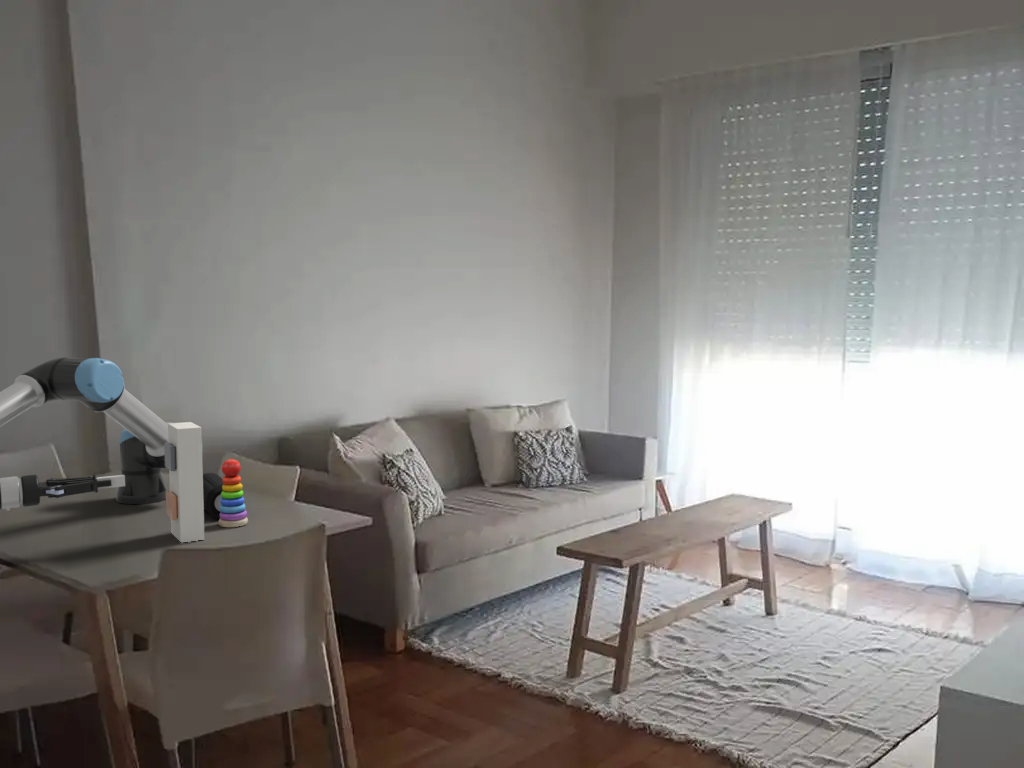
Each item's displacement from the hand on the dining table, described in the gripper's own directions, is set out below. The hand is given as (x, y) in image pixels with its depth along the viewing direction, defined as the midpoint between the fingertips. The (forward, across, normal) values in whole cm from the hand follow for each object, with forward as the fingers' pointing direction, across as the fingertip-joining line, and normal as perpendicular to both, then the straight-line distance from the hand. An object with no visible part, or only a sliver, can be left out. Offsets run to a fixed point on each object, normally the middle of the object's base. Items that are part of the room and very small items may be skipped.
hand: (124, 480), depth 237 cm
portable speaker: (+29, -26, -18) cm, 43 cm away
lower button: (+14, 0, -11) cm, 18 cm away
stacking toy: (+29, -7, -18) cm, 35 cm away
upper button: (+14, -1, +2) cm, 14 cm away
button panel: (+15, 0, -17) cm, 23 cm away
